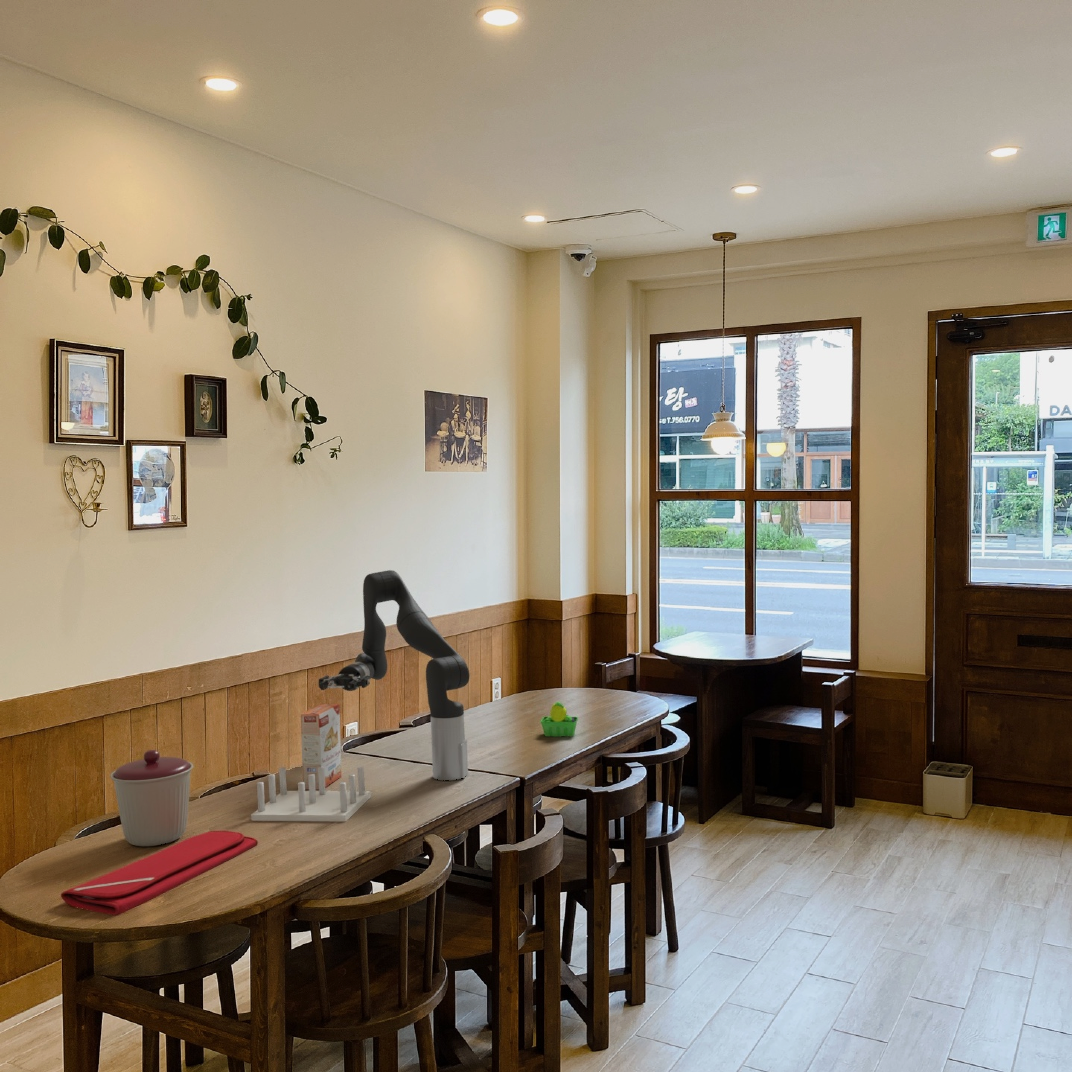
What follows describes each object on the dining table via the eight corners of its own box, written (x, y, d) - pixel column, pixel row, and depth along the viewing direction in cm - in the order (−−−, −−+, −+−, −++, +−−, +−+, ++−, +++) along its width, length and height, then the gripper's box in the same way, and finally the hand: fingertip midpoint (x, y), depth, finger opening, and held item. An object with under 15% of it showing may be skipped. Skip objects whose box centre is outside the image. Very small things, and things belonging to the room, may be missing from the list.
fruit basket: (579, 732, 327) (577, 697, 327) (575, 738, 319) (574, 703, 318) (544, 731, 329) (543, 697, 329) (539, 738, 321) (538, 703, 320)
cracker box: (323, 791, 271) (319, 713, 270) (302, 790, 272) (298, 713, 271) (343, 776, 284) (340, 702, 283) (323, 776, 285) (320, 702, 285)
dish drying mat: (259, 847, 229) (259, 830, 229) (119, 918, 192) (118, 899, 192) (205, 840, 236) (204, 824, 236) (59, 908, 198) (58, 889, 198)
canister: (109, 836, 239) (104, 748, 239) (188, 822, 248) (184, 737, 247) (119, 859, 224) (114, 764, 223) (203, 842, 232) (199, 751, 232)
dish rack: (370, 796, 264) (369, 764, 263) (345, 821, 244) (344, 786, 244) (283, 796, 267) (281, 764, 267) (251, 820, 247) (249, 786, 247)
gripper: (331, 663, 308) (312, 673, 292) (376, 663, 306) (359, 673, 290) (332, 688, 308) (313, 699, 292) (377, 688, 306) (360, 699, 290)
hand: (336, 686), depth 291 cm, fingers open, 8 cm apart
